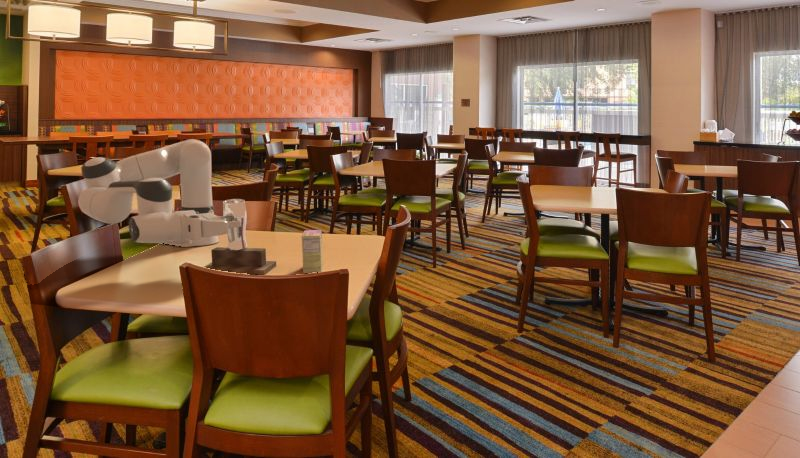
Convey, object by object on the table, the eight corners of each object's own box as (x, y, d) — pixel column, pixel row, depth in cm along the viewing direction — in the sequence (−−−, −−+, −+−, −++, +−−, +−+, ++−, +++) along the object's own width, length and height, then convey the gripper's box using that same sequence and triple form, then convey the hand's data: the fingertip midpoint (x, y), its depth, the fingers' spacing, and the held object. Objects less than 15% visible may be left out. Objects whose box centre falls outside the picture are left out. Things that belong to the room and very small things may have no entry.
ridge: (200, 273, 188) (199, 252, 187) (216, 264, 200) (215, 244, 199) (264, 275, 186) (263, 254, 185) (276, 265, 198) (275, 245, 197)
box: (304, 266, 198) (303, 229, 195) (322, 265, 198) (321, 229, 196) (302, 274, 187) (301, 236, 185) (321, 273, 188) (320, 235, 186)
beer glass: (233, 244, 197) (229, 198, 193) (252, 245, 195) (249, 199, 191) (221, 250, 190) (217, 202, 186) (242, 251, 188) (238, 203, 185)
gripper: (182, 230, 192) (227, 226, 199) (197, 241, 175) (245, 236, 182) (181, 210, 191) (226, 207, 198) (196, 219, 174) (244, 215, 181)
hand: (235, 221), depth 190 cm, fingers open, 8 cm apart
